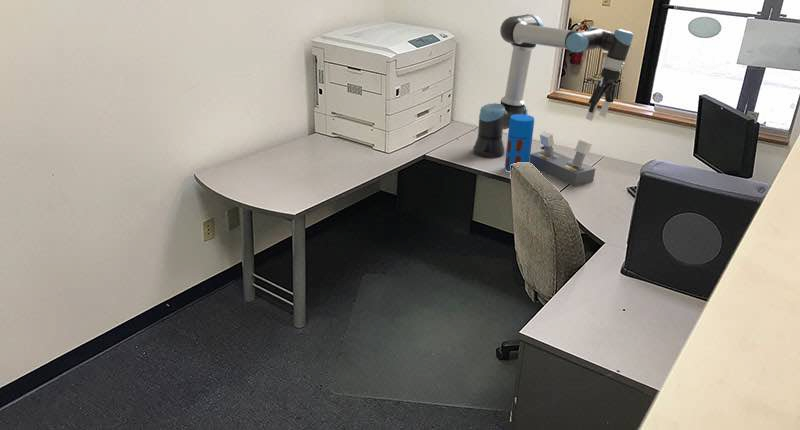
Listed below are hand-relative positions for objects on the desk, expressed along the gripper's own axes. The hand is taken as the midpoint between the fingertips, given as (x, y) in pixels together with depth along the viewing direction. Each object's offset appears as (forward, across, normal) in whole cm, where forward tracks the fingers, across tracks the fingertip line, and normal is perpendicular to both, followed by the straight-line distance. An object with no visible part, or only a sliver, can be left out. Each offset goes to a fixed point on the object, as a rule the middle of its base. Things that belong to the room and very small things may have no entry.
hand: (595, 117), depth 266 cm
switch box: (+30, +2, +8) cm, 31 cm away
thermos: (+33, -9, +24) cm, 42 cm away
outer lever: (+23, 0, +1) cm, 23 cm away
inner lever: (+25, +4, +17) cm, 30 cm away
